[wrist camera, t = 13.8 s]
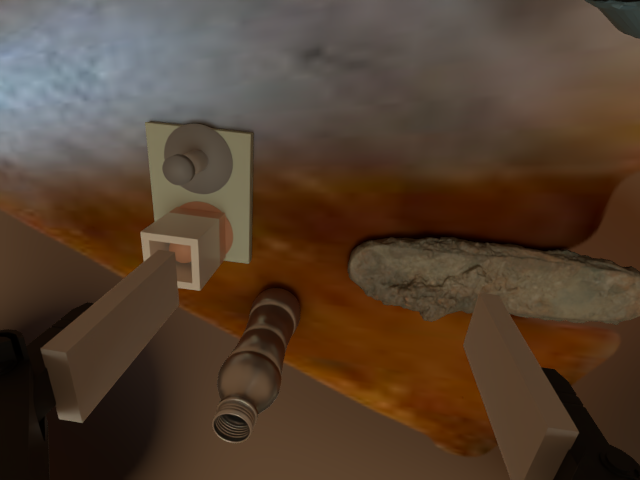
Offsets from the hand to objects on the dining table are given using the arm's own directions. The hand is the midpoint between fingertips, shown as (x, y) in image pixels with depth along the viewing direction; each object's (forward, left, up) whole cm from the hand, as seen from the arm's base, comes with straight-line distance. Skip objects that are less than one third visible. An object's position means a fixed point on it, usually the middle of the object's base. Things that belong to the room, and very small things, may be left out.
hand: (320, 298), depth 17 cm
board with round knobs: (+6, -17, -29) cm, 34 cm away
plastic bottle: (+20, -7, -29) cm, 36 cm away
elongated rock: (+12, +19, -29) cm, 37 cm away
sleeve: (+10, -17, -27) cm, 34 cm away
